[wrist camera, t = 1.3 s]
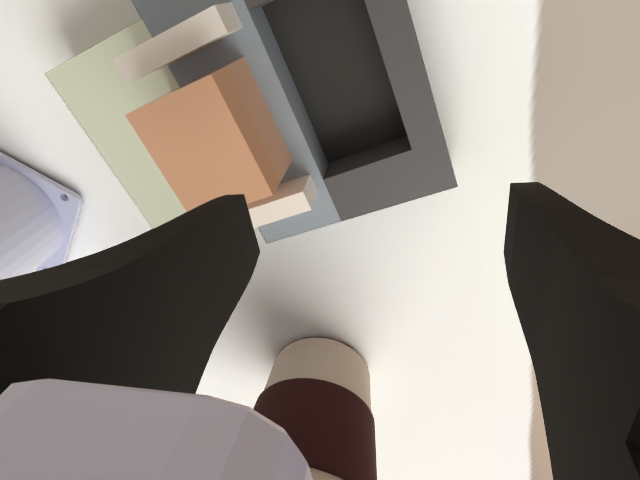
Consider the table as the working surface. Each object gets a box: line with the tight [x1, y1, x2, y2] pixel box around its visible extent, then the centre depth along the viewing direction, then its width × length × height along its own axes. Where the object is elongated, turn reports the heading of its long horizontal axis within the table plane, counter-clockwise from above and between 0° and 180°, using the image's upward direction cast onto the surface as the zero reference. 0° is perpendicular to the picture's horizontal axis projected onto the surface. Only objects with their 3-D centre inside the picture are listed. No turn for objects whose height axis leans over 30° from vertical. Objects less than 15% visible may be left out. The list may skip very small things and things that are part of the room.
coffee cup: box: [253, 338, 377, 480], centre depth 25 cm, size 10×10×15 cm
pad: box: [44, 19, 258, 230], centre depth 22 cm, size 6×11×2 cm, turn 23°
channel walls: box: [112, 2, 318, 228], centre depth 19 cm, size 5×9×2 cm, turn 23°
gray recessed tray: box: [132, 0, 458, 243], centre depth 19 cm, size 10×13×2 cm
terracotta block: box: [125, 57, 292, 212], centre depth 18 cm, size 4×5×4 cm
